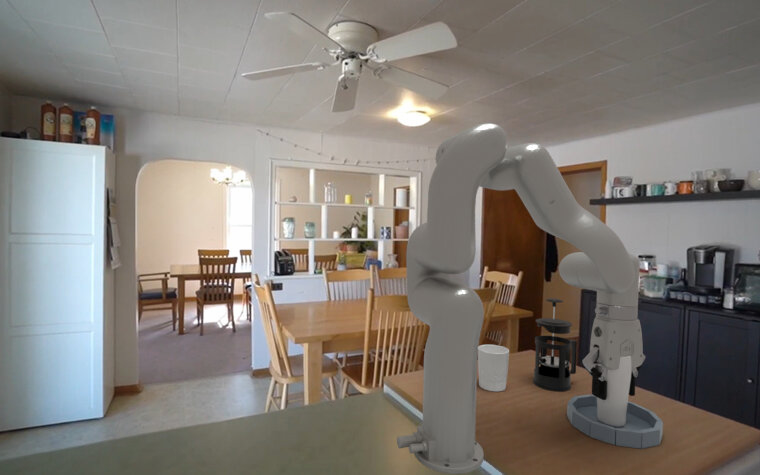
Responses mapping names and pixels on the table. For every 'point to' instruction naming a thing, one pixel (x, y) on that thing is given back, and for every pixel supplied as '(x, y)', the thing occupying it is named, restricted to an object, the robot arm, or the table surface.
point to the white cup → (492, 367)
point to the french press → (552, 368)
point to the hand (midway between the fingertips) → (613, 394)
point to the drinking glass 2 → (615, 394)
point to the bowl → (635, 433)
